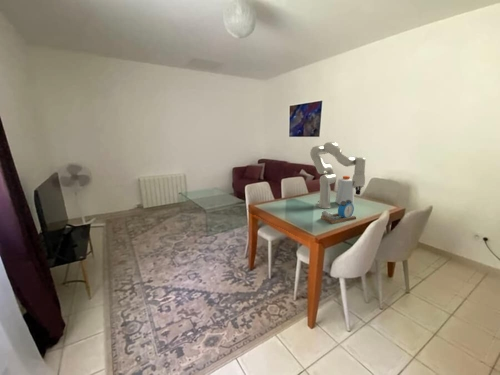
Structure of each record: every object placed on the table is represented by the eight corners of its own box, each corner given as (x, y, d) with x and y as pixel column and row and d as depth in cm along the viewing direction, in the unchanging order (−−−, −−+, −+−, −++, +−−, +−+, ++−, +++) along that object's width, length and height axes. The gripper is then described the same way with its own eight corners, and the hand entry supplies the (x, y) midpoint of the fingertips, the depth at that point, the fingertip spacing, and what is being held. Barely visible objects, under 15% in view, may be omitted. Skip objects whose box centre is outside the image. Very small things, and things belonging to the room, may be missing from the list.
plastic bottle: (355, 205, 217) (357, 177, 211) (339, 206, 218) (341, 177, 211) (348, 201, 232) (350, 174, 226) (334, 201, 232) (335, 175, 226)
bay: (323, 218, 188) (323, 215, 187) (344, 214, 195) (344, 212, 195) (334, 223, 176) (334, 221, 175) (355, 219, 183) (356, 216, 183)
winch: (319, 218, 186) (320, 209, 184) (324, 217, 188) (325, 209, 186) (333, 225, 172) (333, 215, 170) (338, 224, 174) (338, 214, 172)
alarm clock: (343, 220, 182) (344, 202, 178) (336, 217, 187) (338, 200, 184) (353, 217, 188) (354, 200, 185) (347, 214, 193) (348, 198, 190)
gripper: (362, 171, 189) (360, 192, 193) (348, 172, 184) (347, 194, 188) (369, 172, 182) (368, 194, 186) (356, 174, 177) (354, 196, 181)
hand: (357, 194), depth 187 cm, fingers closed
